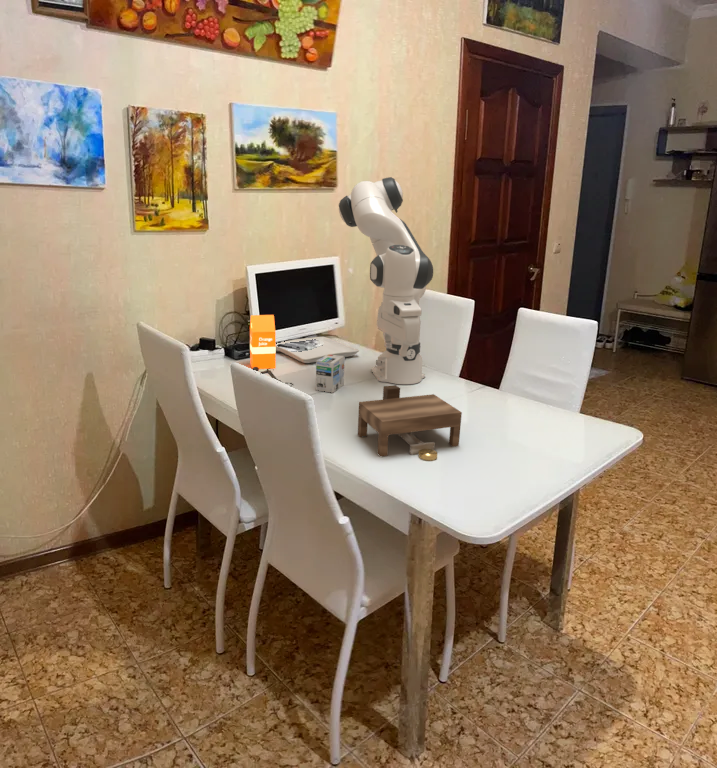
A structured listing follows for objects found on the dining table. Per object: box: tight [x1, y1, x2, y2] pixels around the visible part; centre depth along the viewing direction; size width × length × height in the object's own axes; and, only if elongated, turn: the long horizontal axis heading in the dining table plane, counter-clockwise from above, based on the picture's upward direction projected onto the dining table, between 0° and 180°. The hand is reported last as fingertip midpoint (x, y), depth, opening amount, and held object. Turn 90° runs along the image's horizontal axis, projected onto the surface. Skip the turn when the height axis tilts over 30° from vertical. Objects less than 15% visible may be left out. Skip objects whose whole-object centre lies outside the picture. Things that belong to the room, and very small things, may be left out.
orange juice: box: [249, 314, 277, 370], centre depth 243 cm, size 8×9×20 cm
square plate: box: [276, 336, 360, 364], centre depth 265 cm, size 27×27×4 cm
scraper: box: [382, 384, 436, 455], centre depth 181 cm, size 24×7×12 cm, turn 22°
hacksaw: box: [252, 367, 294, 386], centre depth 233 cm, size 24×10×2 cm, turn 20°
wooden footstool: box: [357, 393, 463, 457], centre depth 179 cm, size 16×24×10 cm, turn 112°
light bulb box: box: [315, 354, 346, 393], centre depth 222 cm, size 11×7×11 cm, turn 160°
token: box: [417, 449, 438, 462], centre depth 170 cm, size 5×5×2 cm
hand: (395, 351), depth 184 cm, fingers open, 8 cm apart
